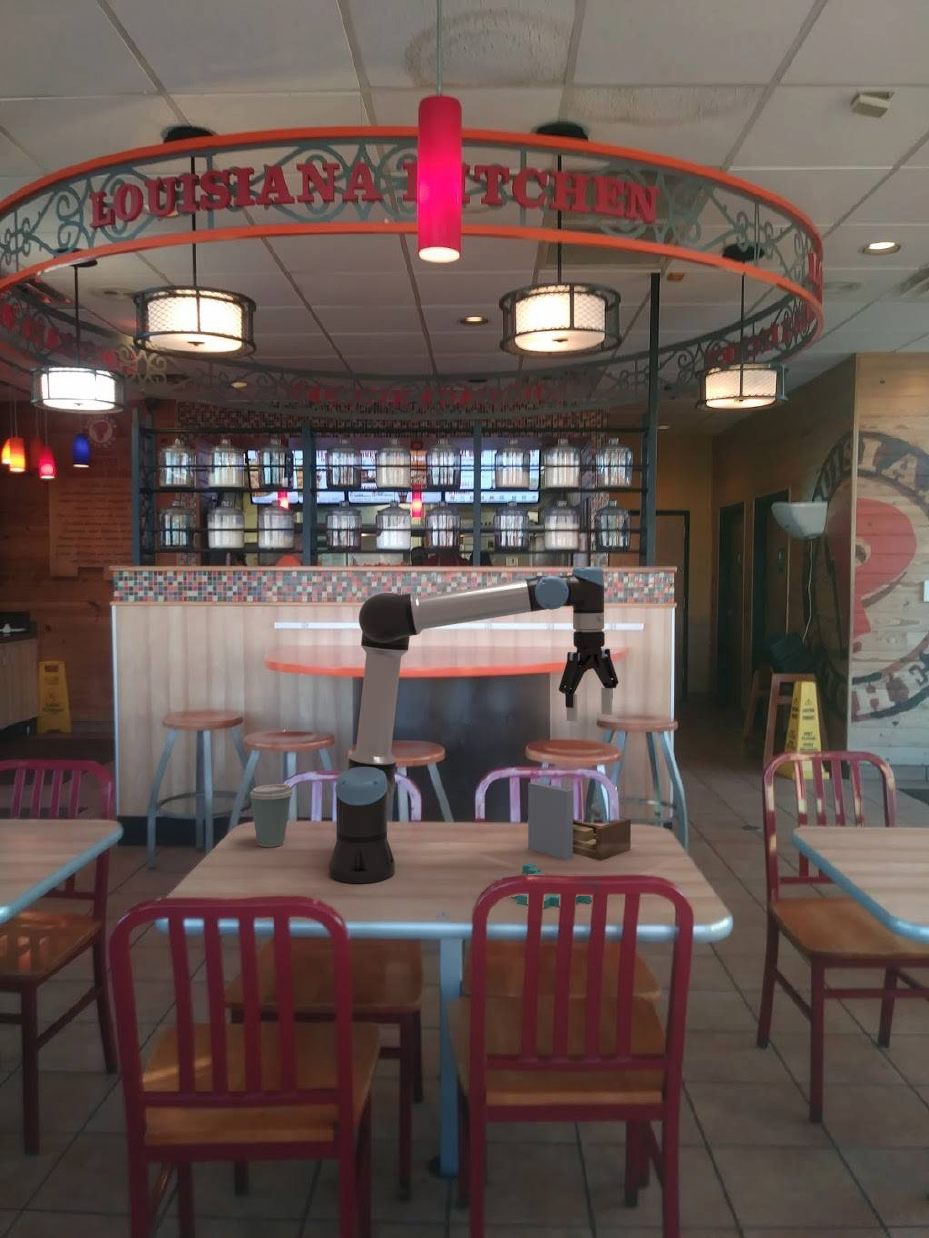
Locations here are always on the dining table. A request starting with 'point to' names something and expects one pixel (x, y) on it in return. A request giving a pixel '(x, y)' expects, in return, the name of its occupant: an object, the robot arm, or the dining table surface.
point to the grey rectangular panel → (550, 820)
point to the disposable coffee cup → (270, 813)
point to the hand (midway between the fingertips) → (589, 717)
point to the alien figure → (549, 899)
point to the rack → (606, 839)
